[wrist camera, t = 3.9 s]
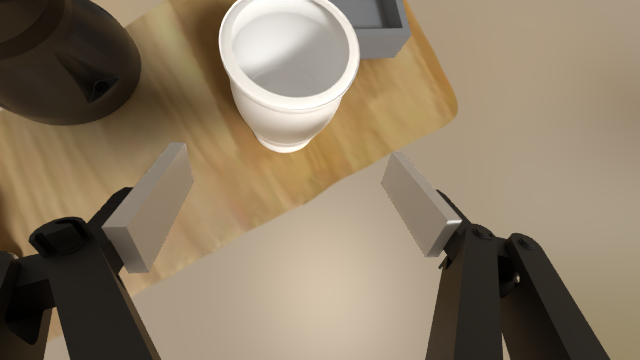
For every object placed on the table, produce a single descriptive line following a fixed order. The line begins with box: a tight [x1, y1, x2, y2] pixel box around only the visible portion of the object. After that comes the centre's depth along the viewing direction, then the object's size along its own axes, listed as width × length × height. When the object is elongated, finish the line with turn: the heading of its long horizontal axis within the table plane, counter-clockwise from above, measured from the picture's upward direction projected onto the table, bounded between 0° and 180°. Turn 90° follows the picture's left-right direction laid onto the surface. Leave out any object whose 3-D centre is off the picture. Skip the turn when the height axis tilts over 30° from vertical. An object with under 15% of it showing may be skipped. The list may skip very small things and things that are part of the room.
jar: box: [219, 0, 360, 153], centre depth 24 cm, size 11×10×15 cm
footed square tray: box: [328, 0, 411, 59], centre depth 33 cm, size 16×16×6 cm
